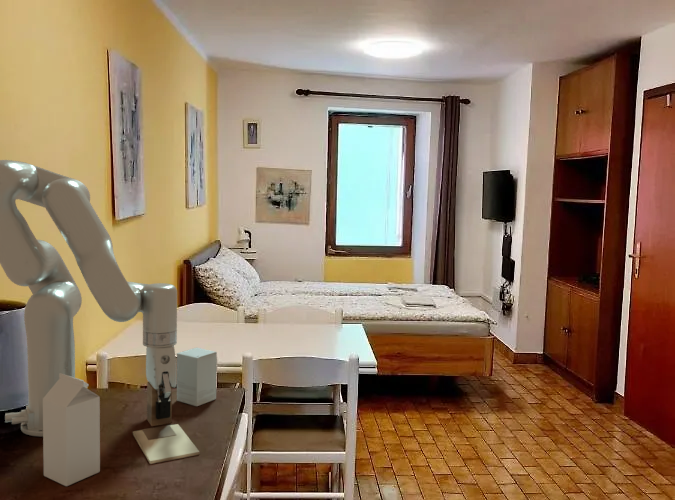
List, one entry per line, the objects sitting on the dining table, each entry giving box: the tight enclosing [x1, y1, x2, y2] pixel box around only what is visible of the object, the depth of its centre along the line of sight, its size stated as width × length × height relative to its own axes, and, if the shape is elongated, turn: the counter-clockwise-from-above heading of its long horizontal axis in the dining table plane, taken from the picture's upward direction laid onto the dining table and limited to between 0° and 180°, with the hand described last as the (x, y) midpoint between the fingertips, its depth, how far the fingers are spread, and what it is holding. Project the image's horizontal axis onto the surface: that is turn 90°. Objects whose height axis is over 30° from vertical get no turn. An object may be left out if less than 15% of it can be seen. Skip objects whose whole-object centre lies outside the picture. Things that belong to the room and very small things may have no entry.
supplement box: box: [176, 347, 218, 407], centre depth 155 cm, size 7×7×13 cm
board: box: [132, 423, 201, 465], centre depth 129 cm, size 10×16×1 cm, turn 30°
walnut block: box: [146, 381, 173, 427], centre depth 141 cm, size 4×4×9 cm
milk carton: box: [42, 373, 101, 487], centre depth 113 cm, size 7×7×19 cm
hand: (159, 412), depth 141 cm, fingers open, 6 cm apart
